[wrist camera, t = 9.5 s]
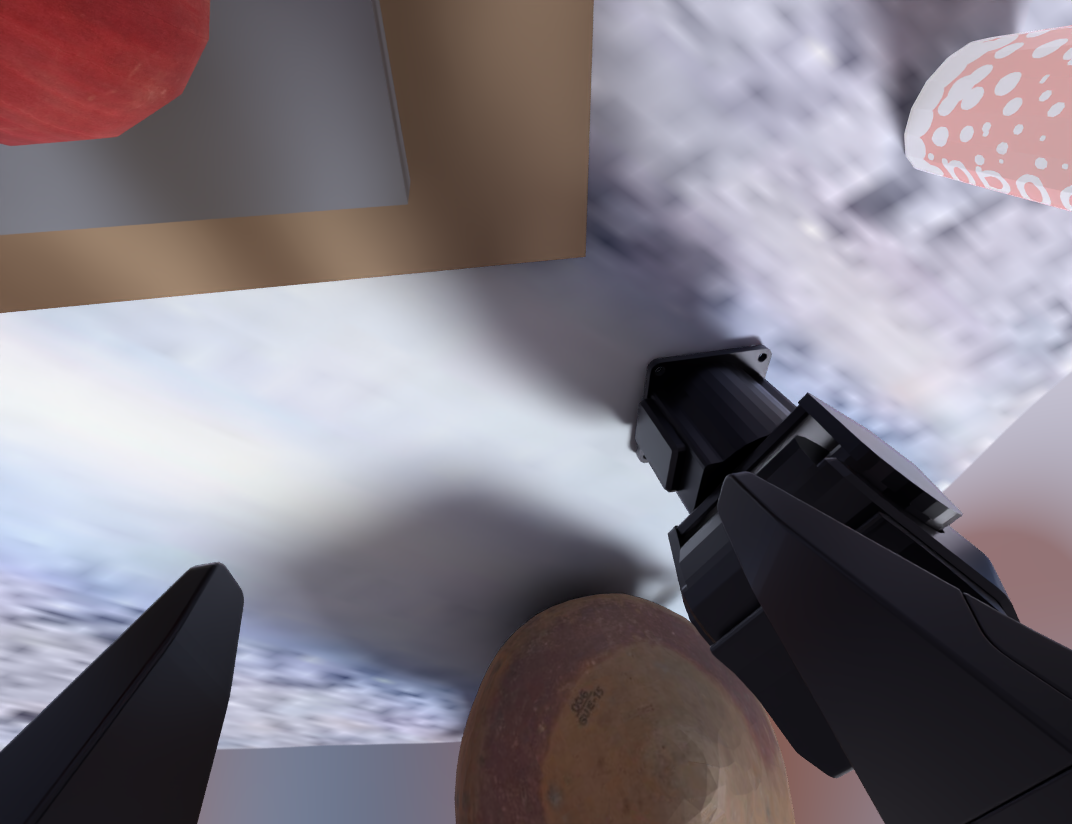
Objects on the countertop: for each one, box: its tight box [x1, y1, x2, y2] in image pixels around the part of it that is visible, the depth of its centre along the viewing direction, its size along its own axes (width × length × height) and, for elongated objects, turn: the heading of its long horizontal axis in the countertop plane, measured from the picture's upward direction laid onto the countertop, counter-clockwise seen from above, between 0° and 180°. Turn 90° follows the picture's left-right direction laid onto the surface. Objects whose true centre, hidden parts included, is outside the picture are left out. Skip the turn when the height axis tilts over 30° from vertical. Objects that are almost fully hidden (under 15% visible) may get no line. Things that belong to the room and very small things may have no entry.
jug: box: [455, 593, 795, 824], centre depth 32 cm, size 20×20×30 cm
